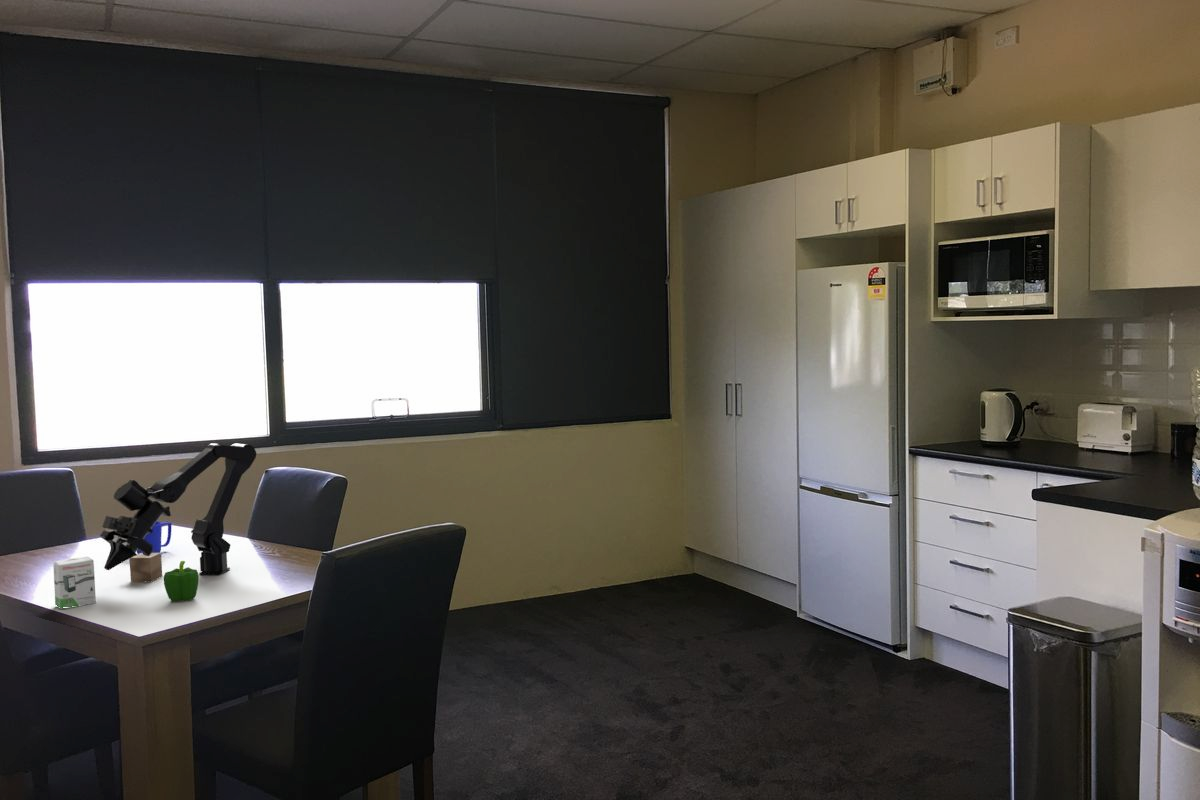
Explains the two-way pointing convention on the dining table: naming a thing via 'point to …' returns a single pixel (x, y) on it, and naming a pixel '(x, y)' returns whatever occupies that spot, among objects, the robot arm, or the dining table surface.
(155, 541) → the mug
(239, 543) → the dining table surface
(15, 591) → the dining table surface
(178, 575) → the bell pepper
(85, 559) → the ink box
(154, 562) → the walnut block
